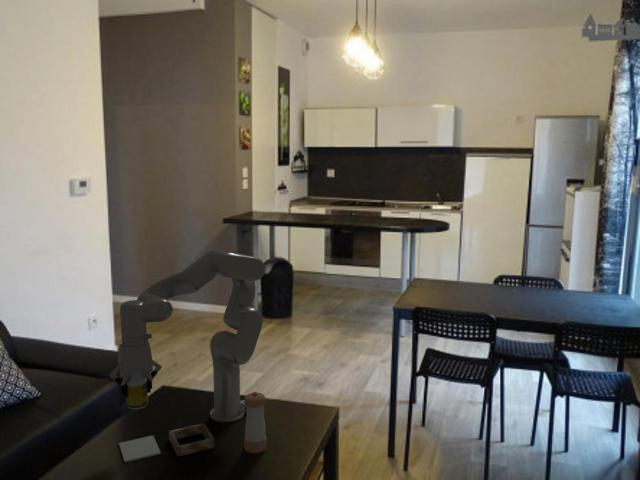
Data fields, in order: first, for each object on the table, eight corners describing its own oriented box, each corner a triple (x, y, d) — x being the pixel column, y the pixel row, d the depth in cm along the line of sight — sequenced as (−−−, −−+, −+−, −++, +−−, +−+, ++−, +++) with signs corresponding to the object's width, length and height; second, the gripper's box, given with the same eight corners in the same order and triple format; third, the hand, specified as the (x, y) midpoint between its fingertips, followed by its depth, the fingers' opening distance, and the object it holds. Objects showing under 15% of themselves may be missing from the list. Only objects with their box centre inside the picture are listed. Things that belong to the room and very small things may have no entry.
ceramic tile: (153, 437, 186) (153, 435, 186) (160, 454, 175) (160, 452, 175) (119, 444, 181) (118, 443, 181) (124, 462, 170) (124, 461, 170)
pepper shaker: (248, 455, 175) (248, 398, 172) (241, 444, 181) (240, 390, 178) (270, 449, 178) (269, 394, 175) (261, 439, 185) (261, 385, 182)
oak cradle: (204, 431, 190) (204, 423, 190) (214, 447, 180) (214, 439, 179) (169, 439, 185) (168, 430, 184) (177, 456, 174) (177, 447, 174)
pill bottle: (141, 411, 172) (140, 376, 170) (123, 409, 173) (121, 374, 171) (152, 402, 178) (150, 368, 176) (133, 400, 180) (132, 366, 178)
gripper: (160, 332, 180) (162, 384, 182) (103, 340, 172) (106, 394, 174) (165, 339, 173) (167, 392, 176) (106, 348, 165) (109, 404, 168)
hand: (137, 393), depth 175 cm, fingers closed on pill bottle, 6 cm apart
